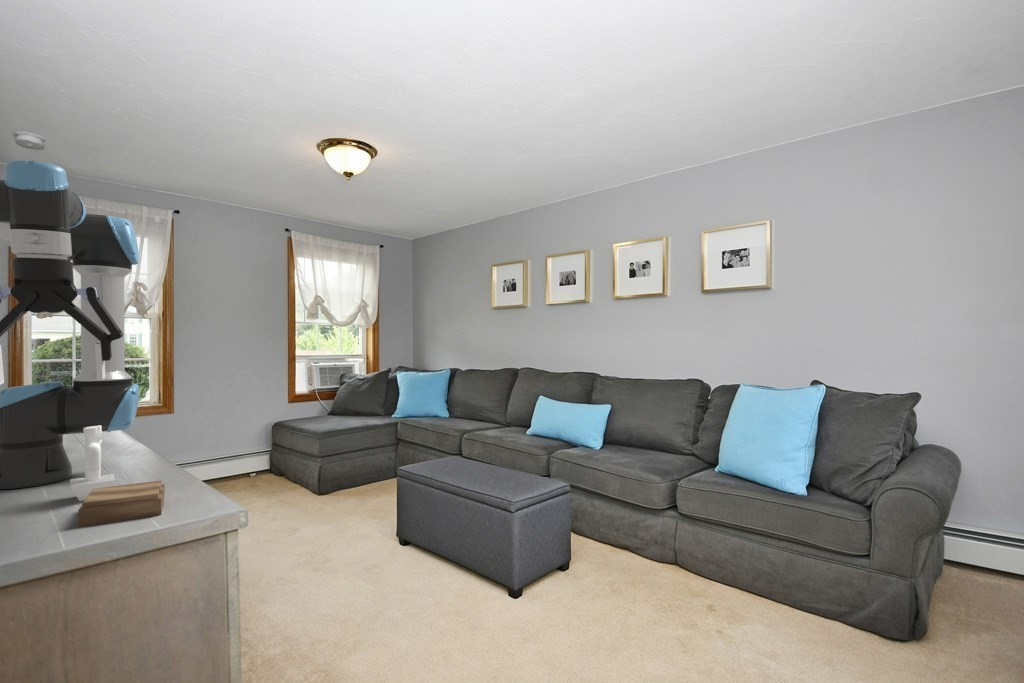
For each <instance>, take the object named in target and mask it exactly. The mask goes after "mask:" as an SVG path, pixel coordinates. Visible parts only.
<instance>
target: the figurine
mask: <svg viewBox="0 0 1024 683" xmlns="http://www.w3.org/2000/svg"><path fill="white" fill-rule="evenodd" d="M83 431H84V433H83V436H84V477H81V478H79V477H77V478H72V479H70V480H69V482H70V483H69V484H70V489H71V490H72V491H73V493H74V495H75V497H76V498H77V499H78V501H79V502H84V501H85V499H86V498H87V497H88V495H89V494H90V493H91V491H92V490H93V489H94V488H103V487H111V486H114V484H115V482H116V477H115V475H114V473H108V474H102V475H101V472H102V471H101V468H102V462H101V461H102V449H101V448H102V447H101V446H102V445H101V444H102V443H103V440H102V434H103V432H102V426H101V425H98V426H91V427H86V428H83Z"/></svg>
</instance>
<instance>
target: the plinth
mask: <svg viewBox="0 0 1024 683" xmlns="http://www.w3.org/2000/svg"><path fill="white" fill-rule="evenodd" d="M165 493H166V492H165V484H162V480H156V481H155V480H153V481H145V482H137V483H128V484H120V485H113V486H111V487H103V488H94V489H93V490H92V491H91V493H90V494H89V495H88V497H87V498H86V499H85V501H82V504H81V506H80V507H79V508H78V528H80V527H88V526H95V525H101V524H108V523H114V522H120V521H121V522H122V521H128V520H135V519H140V518H148V517H155V516H161V515H162V512H163V507H164V505H165V504H164V503H165Z"/></svg>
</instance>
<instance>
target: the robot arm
mask: <svg viewBox="0 0 1024 683" xmlns="http://www.w3.org/2000/svg"><path fill="white" fill-rule="evenodd" d="M69 185H70V184H69V182H68V178H67V172H66V170H65V169H64V168H63V167H62V166H59V165H56V164H52V163H50V162H49V163H48V162H42V161H35V160H25V159H15V160H10V161H8V162H7V163H6V164H5V179H2V178H1V179H0V242H1V243H2V244H4V245H6V246H8V247H11V253H12V254H13V255H16V257H14V258H13V259H12V260H11V262H12V276H13V285H12V286H11V287H8V286H1V285H0V304H1V302H2V300H6V299H7V298H8V296H9V295H11V296H12V297H13V298H14V299H15V300H16V301H17V302H18V303H17V304H16V305H14V307H13V308H11V309H10V311H9V312H8V313H7V314H6V315H4V316H3V318H2V319H0V338H1V337H2V336H3V335H4V334H6V332H8V330H9V329H10V328H11V327H13V326H14V325H15V324H16V323H17V322H18V321H19V320H20V319H21V318H22V317H23V316H24V315H26V314H27V313H28V312H30V313H33V314H41V313H50V314H55V313H56V314H58V313H62V312H64V313H66V314H67V315H69V316H70V317H71V318H72V319H74V320H75V321H76V322H77V323H78V324H80V366H81V367H80V373H79V374H77V375H76V376H75V377H74V378H72V386H65V385H64V383H63V381H61V380H57V381H56V380H55V381H48V382H40V383H33V384H25V385H19V386H17V385H16V386H11V387H6V388H5V387H4V388H2V389H1V390H0V490H10V489H11V490H12V489H13V490H14V489H22V488H30V487H36V486H37V487H38V486H42V485H43V486H44V485H47V484H54V483H58V482H61V481H64V480H66V479H69V478H71V477H72V476H73V466H72V463H71V461H70V459H69V457H68V454H67V452H66V450H65V447H64V445H63V444H64V441H63V440H64V439H63V438H64V435H73V434H76V435H77V434H78V435H79V434H84V431H83V428H86V427H91V426H98V425H101V426H102V433H103V432H107V433H110V432H114V431H115V432H116V431H123V430H124V431H125V430H128V429H130V428H131V427H132V426H133V425H134V422H135V420H136V415H137V411H138V407H139V402H140V385H139V384H137V383H136V382H135V383H133V377H132V376H131V375H130V374H129V373H128V372H126V369H125V368H126V367H125V364H126V362H125V357H126V356H125V354H126V352H125V350H126V348H125V342H126V340H125V278H126V277H127V276H128V275H129V274H131V273H132V266H136V265H138V264H139V263H140V253H139V251H140V250H139V245H138V240H137V236H136V231H135V229H134V226H133V224H132V223H131V221H130V220H128V219H126V218H124V217H119V216H111V215H108V214H106V215H105V214H104V215H103V214H92V213H91V214H90V213H87V208H86V206H85V203H84V202H83V200H82V199H81V198H80V196H78V195H79V194H77V193H76V192H74V191H72V190H71V189H68V188H69ZM74 271H76V272H77V273H78V274H79V276H80V288H77V287H76V285H75V282H74V281H75V280H74ZM78 296H80V308H79V307H78V306H77V305H75V304H74V303H73V301H74V300H75V299H76V298H77V297H78ZM3 361H4V360H3V351H2V344H0V386H1V385H3V384H4V383H5V374H4V364H3Z"/></svg>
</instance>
